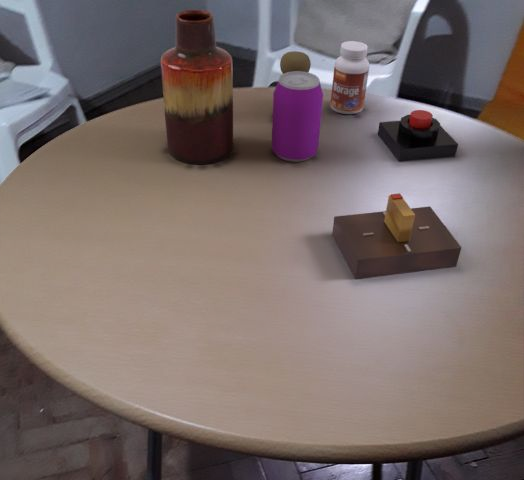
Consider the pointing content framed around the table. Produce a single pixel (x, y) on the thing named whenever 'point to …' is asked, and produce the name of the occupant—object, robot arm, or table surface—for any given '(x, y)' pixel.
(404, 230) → the thumb turn
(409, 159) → the box
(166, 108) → the vase
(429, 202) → the table surface
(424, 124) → the bell button
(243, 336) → the table surface
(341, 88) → the pill bottle
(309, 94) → the beverage can
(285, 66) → the cork
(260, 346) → the table surface
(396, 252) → the plate
